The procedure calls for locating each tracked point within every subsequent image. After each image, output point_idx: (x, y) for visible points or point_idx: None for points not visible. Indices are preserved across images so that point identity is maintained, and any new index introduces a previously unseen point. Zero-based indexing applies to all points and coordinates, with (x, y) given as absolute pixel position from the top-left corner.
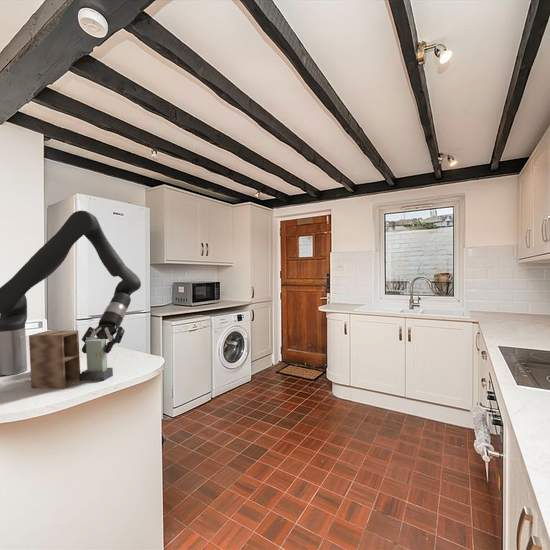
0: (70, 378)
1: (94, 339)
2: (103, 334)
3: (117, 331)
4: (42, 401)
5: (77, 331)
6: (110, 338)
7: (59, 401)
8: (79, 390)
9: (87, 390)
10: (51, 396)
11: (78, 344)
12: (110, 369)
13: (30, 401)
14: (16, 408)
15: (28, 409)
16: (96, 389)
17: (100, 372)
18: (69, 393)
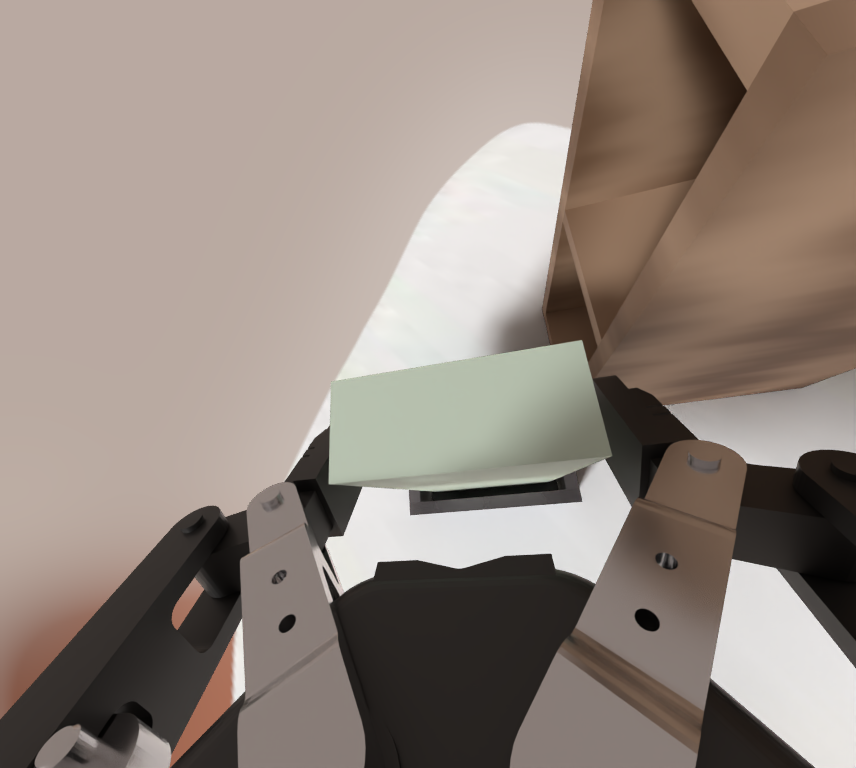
0: None
1: (510, 443)
2: (417, 605)
3: (86, 686)
4: (496, 202)
5: (793, 64)
6: (270, 518)
7: (429, 220)
8: (440, 308)
9: (404, 316)
10: (507, 238)
11: (643, 296)
12: (410, 490)
13: (547, 188)
14: (533, 146)
15: (480, 157)
16: (373, 332)
17: None
18: (457, 276)
